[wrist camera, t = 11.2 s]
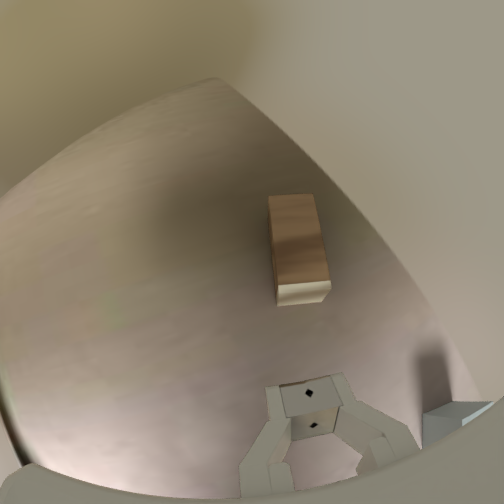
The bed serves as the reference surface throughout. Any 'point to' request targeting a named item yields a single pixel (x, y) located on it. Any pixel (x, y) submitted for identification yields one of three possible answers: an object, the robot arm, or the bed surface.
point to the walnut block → (297, 250)
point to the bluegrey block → (449, 419)
